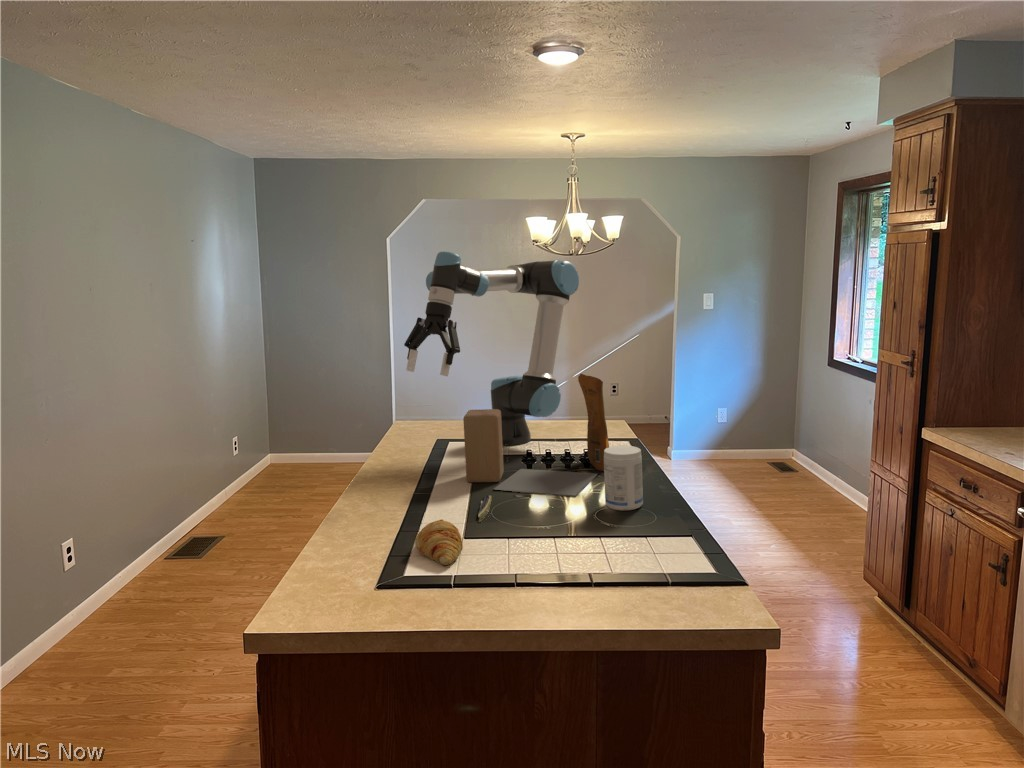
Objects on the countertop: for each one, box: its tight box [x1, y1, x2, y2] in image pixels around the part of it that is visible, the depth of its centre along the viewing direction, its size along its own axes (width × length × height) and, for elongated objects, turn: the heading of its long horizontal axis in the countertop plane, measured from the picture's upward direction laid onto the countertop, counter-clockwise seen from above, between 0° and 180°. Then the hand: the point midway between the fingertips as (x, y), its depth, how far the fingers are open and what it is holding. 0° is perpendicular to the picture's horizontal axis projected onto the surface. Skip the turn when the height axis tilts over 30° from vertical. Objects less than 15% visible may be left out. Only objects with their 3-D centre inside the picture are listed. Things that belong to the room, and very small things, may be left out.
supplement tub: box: [603, 445, 644, 512], centre depth 190 cm, size 10×10×15 cm
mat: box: [493, 468, 598, 498], centre depth 215 cm, size 22×24×1 cm
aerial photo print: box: [477, 494, 532, 523], centre depth 192 cm, size 25×19×2 cm
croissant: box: [414, 519, 464, 566], centre depth 165 cm, size 21×10×8 cm, turn 17°
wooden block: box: [462, 408, 505, 483], centre depth 220 cm, size 10×10×20 cm
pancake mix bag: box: [577, 373, 610, 472], centre depth 230 cm, size 7×19×28 cm, turn 8°
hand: (426, 373), depth 223 cm, fingers open, 13 cm apart
